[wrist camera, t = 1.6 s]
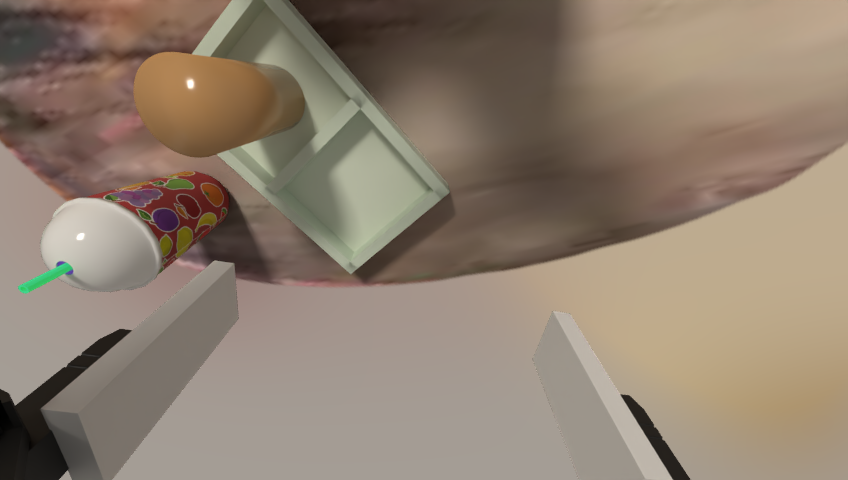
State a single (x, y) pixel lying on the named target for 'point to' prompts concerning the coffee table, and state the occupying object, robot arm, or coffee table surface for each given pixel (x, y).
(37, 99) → the coffee table surface
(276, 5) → the green divided tray
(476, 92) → the coffee table surface
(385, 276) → the coffee table surface
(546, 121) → the coffee table surface
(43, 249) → the smoothie
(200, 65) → the tan rounded capsule
